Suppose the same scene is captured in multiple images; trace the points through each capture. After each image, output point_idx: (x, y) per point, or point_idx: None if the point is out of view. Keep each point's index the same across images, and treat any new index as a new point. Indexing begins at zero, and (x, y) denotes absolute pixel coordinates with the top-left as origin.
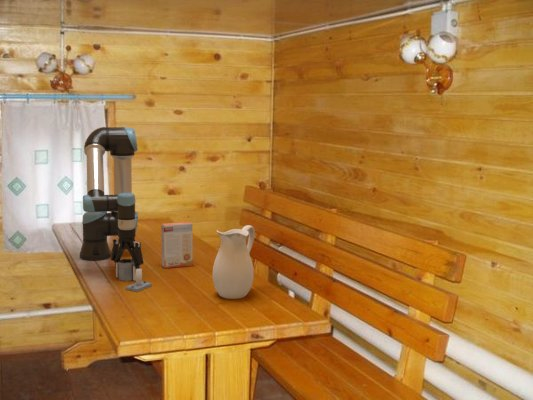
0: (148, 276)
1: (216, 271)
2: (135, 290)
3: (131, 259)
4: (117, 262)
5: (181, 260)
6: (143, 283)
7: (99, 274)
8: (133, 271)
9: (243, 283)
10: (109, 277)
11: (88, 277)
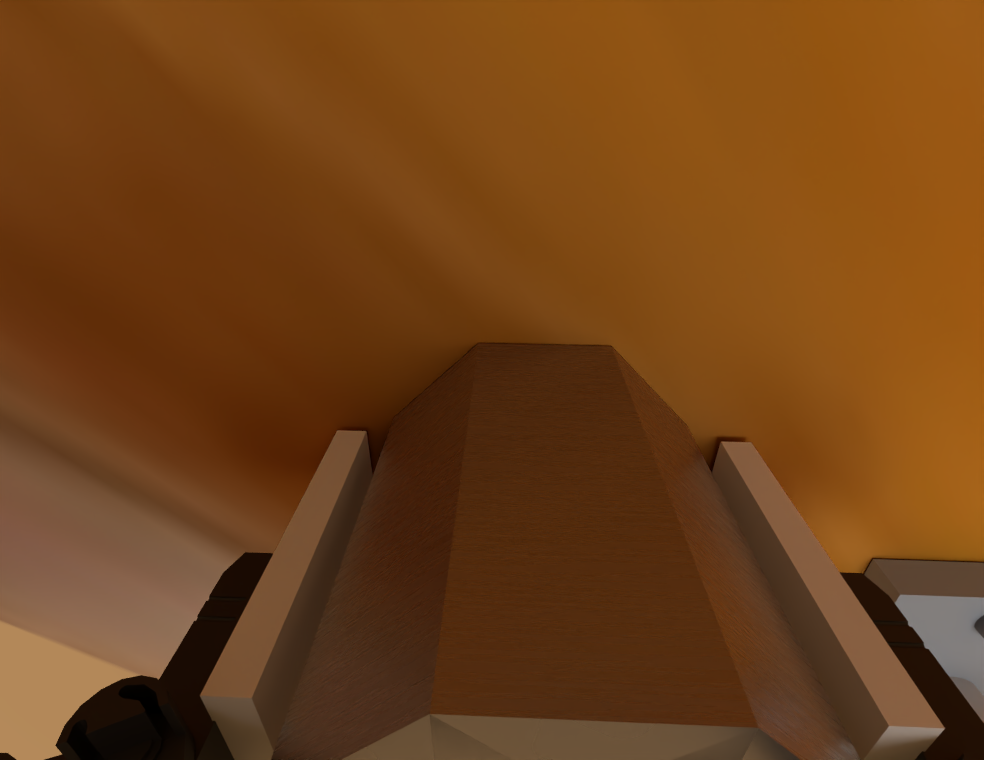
0: (859, 163)
1: None
2: None
3: (576, 754)
4: (233, 757)
5: None
6: (980, 648)
7: (23, 493)
8: None
9: None
10: (270, 532)
11: (81, 624)
